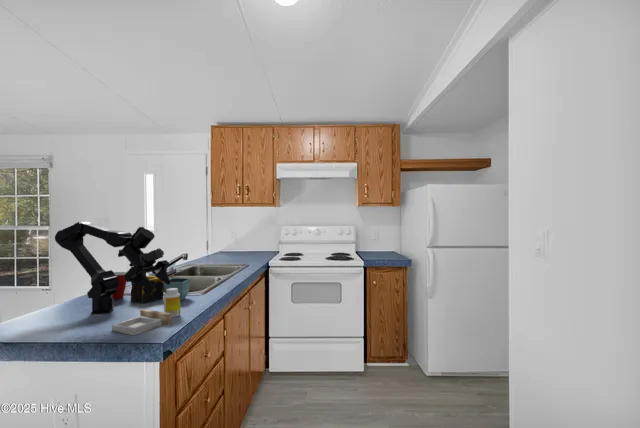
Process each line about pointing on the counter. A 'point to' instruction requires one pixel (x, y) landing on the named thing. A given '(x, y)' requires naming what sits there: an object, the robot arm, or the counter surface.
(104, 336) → the counter surface
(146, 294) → the yellow and black cube
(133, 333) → the square tray
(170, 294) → the supplement bottle
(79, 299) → the counter surface
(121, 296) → the plastic cup
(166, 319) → the oak sill
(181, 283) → the flower pot
